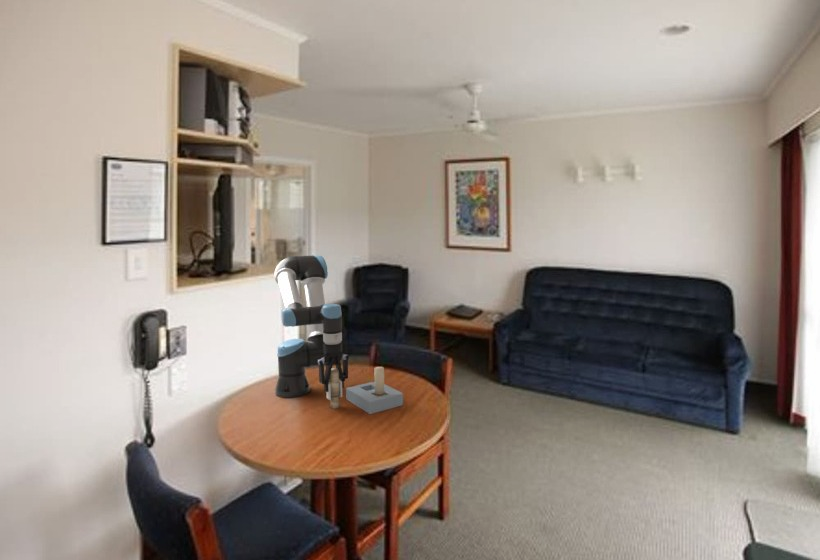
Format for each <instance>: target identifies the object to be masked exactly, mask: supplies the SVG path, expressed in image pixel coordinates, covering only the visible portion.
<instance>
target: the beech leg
mask: <svg viewBox="0 0 820 560" xmlns="http://www.w3.org/2000/svg"><path fill="white" fill-rule="evenodd" d="M339 380H340V379H339V369H337V368H336V367H332V368H331V373H330V379H329V384H331V400H329V401H330V409H332V410H333V409H334V410H336V409H339V407H340V401H339V400H340V399H339V397H340V396H339Z"/></svg>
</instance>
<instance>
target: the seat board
mask: <svg viewBox="0 0 820 560" xmlns="http://www.w3.org/2000/svg"><path fill="white" fill-rule="evenodd" d="M373 370H374V373H373V374H374V377H373V378H374V381H370V382H366V383H362V384H357V385H354V386H348V387H345V396H346V397H345V399H346V400H347V401H348V402H350V403H352V404H353V405H355V406H356V407H358V408H359V409H361V410H363V411H364V412H365V413H367V414H369V415H372V414H377V413H380V412H383V411H387V410H391V409H394V408H398V407H402V406H404V393H403V392H401V391H399V390H398V389H395V388H393V387H391V386H389V385H387V384H386V383H385V367H383V366H375V367H374V368H373Z"/></svg>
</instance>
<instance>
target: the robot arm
mask: <svg viewBox="0 0 820 560" xmlns="http://www.w3.org/2000/svg"><path fill="white" fill-rule="evenodd" d="M327 265H328V264H327V262H326V260H325V258H324V257H323V256H322V255H315V254H312V255H297V256H296V255H291V256H288V257H285V258H283V259H282V260H280V262H279V263H278V264H277V265H276V267H275V270H274V279H275V282H276V283H277V284H278V287H279V290H280V295H281V298H282V302H283V306H284V308H283V309H282V310H281V322H282V326H283V327H285V328H286V327H287V328H288V327H293V328H294V327H299V326H300V327H301V326H308V327H309V335H308V336H307V338H306V339H307V341H305V340H304V339H303V338H292V339H288V340H285V341H282V342H281V343H280V344H278V346H277V363H278V364H277V366H278V367H277V368H278V371H277V372H278V377H277V381H276V384H275V389H274V392H275V395H276V396H277V397H280V398H297V397H301V396H302V397H303V396H305V395H306V394H308V393H310V391H311V389H310V388H311V387H310V383H309V381H308V378H307V376H306V369H308V368H315V367H317V368H318V377H319V378H318V380H319V381H318V382H319V383H320V384H322V385H323V388H324V389H323V391H324V392H325V393H326V394H325V395H326V399H327V400H329V401H330V400H331V384H329V379H330V373H331V368H333V366H335V368H337V369H339V397H340V398H342V397H343V389H344V388H345V381H346V380H347V379H349V359H350V355H348V354H346V353H344V352H343V333H342V332H343V331H342V330H343V329H342V325H343V323H342V312H343V311H342V306H341V305H340V304H337V303H325V302H326V301H325V295H324V289H323V288H324V286H323V285H324V283H325V282H326V279H327V278H328V275H329V273H328V266H327ZM296 281H299V282H300V285H302V287H304V294H305V303H306V306H304V305H303V301H302V298H301V295H300V294H301V293H300V292H299V288H298V284H297V282H296ZM341 360H342V363H341Z"/></svg>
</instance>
